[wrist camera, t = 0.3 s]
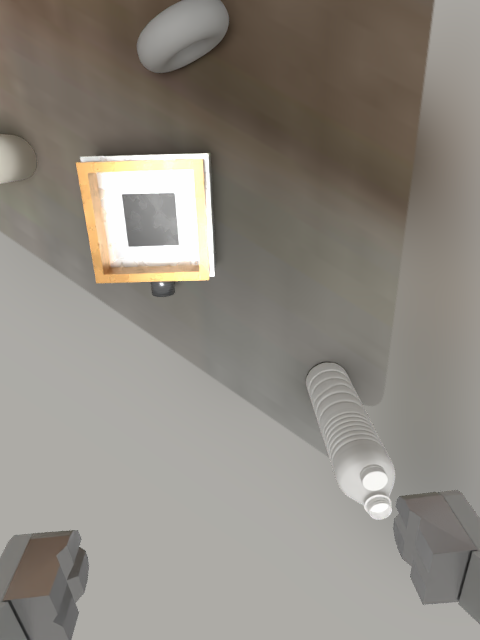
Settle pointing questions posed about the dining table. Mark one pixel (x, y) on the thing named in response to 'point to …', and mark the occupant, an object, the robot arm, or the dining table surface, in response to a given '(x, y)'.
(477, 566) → the robot arm
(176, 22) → the donut
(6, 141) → the spout can
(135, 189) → the white orange open box
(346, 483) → the water bottle
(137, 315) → the dining table surface
